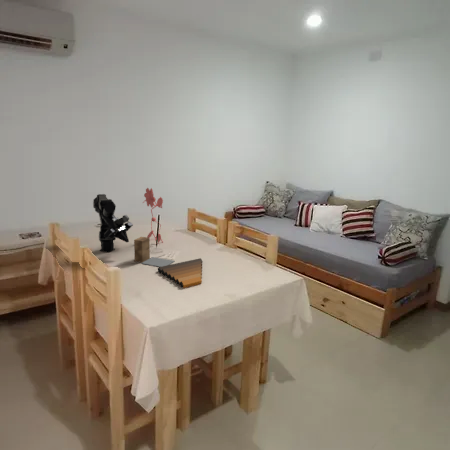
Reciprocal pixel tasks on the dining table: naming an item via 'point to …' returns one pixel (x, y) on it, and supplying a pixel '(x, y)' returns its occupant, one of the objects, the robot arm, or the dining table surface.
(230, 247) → the dining table surface
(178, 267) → the pan flute
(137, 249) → the walnut block
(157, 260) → the felt mat
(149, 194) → the red flower sculpture
